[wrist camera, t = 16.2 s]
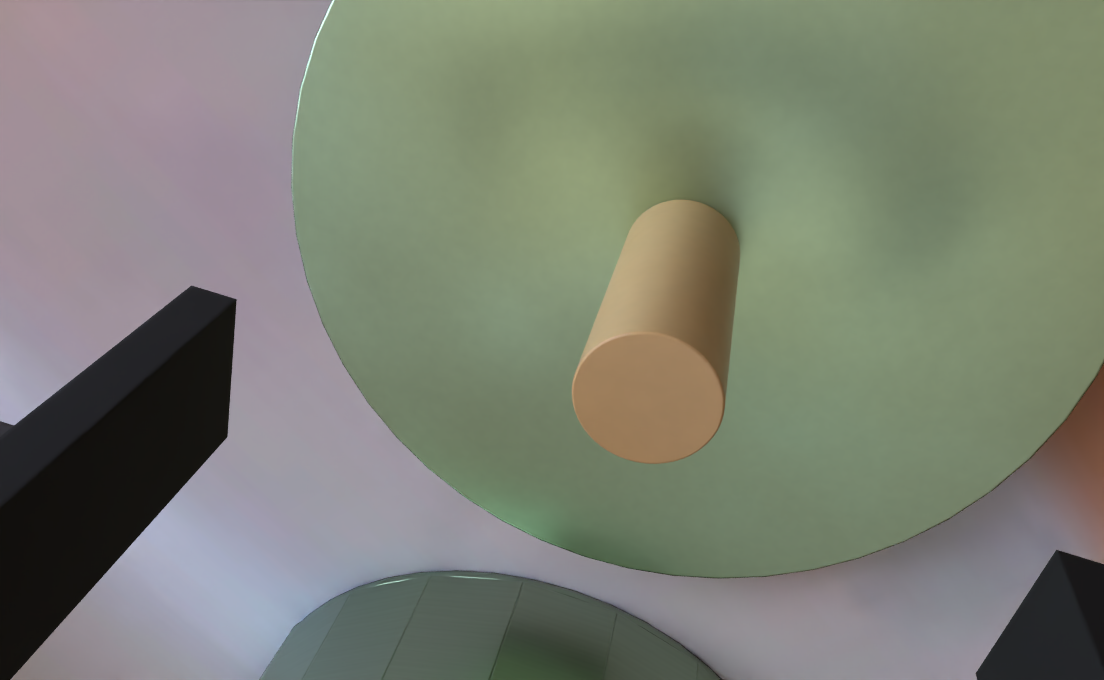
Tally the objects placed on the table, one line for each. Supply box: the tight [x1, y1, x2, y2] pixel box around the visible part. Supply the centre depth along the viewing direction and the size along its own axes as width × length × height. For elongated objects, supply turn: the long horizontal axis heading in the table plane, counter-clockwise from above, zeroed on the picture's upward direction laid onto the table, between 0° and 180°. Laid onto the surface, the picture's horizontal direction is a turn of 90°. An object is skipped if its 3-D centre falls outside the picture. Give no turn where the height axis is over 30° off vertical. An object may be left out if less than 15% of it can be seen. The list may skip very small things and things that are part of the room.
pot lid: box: [291, 0, 1104, 578], centre depth 21 cm, size 20×20×8 cm
